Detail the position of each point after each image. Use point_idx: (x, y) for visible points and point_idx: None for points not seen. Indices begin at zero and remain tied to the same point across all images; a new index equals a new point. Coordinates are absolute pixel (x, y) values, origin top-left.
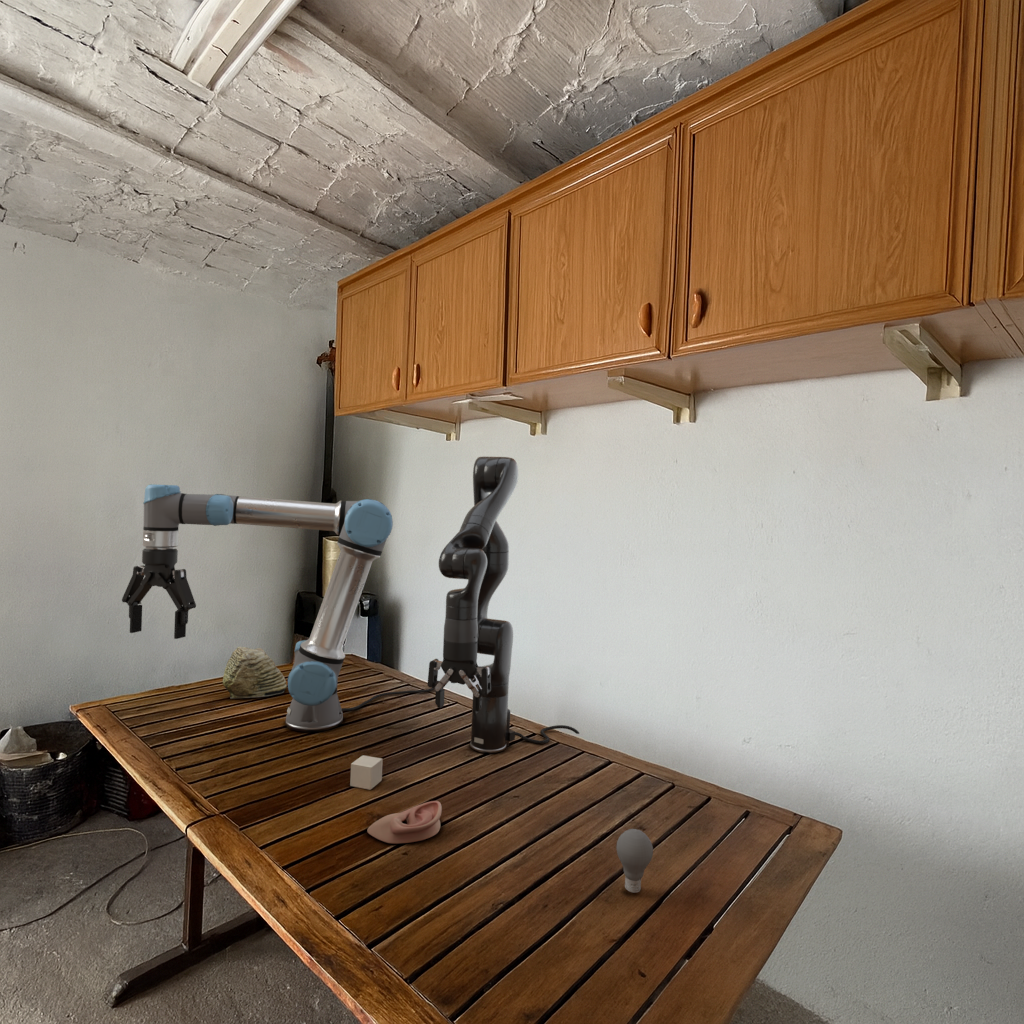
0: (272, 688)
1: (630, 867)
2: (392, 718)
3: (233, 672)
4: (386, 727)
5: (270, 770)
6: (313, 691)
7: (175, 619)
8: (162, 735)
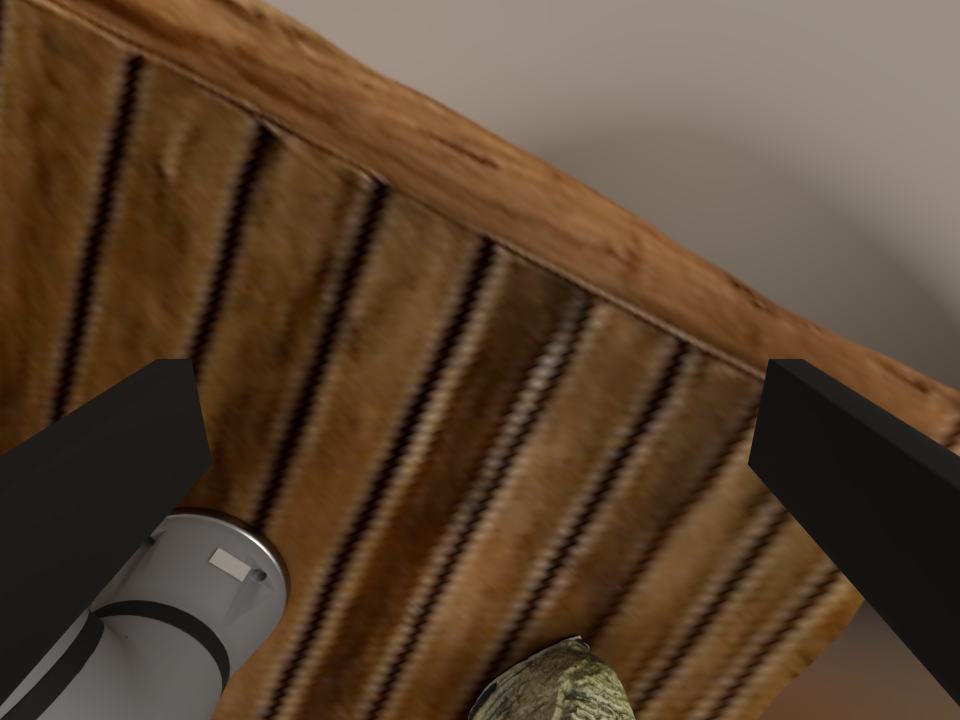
0: (484, 714)
1: None
2: None
3: (572, 710)
4: None
5: (12, 245)
6: None
7: (14, 472)
8: (540, 335)
